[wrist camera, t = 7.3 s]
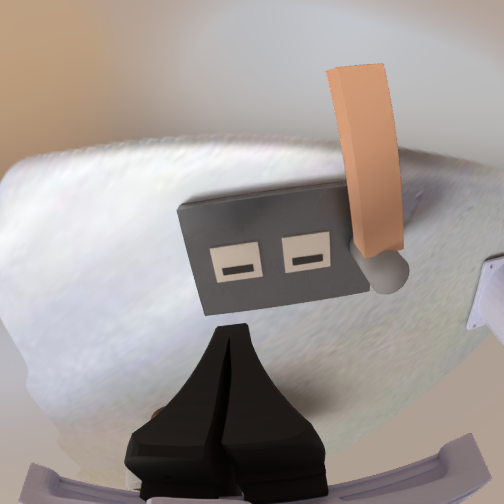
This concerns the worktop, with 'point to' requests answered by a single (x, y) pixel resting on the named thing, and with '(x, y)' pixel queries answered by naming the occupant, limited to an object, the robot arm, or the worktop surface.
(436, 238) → the worktop surface
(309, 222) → the panel
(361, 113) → the swing bar
